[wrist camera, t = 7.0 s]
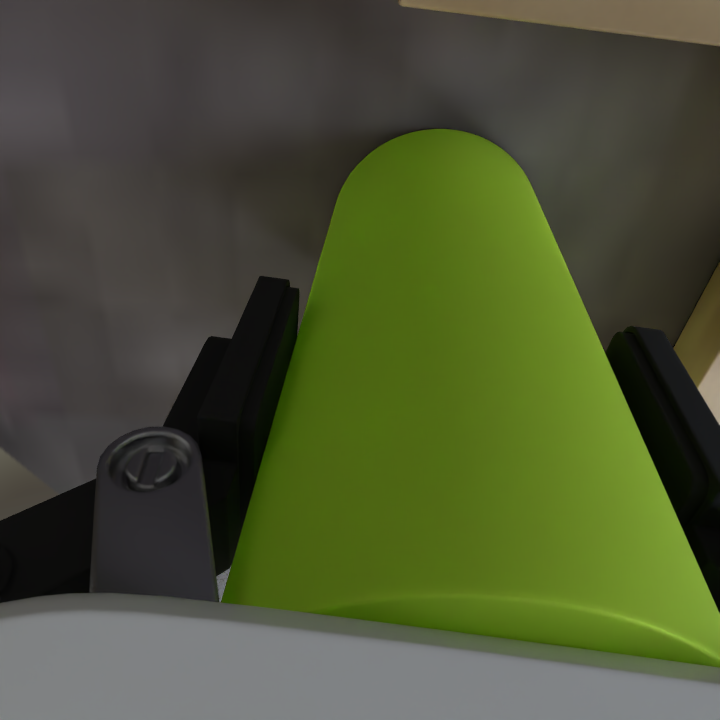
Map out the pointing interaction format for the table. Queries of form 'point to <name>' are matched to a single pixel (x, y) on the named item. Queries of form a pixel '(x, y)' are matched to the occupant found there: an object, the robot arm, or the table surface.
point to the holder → (646, 19)
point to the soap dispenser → (463, 431)
